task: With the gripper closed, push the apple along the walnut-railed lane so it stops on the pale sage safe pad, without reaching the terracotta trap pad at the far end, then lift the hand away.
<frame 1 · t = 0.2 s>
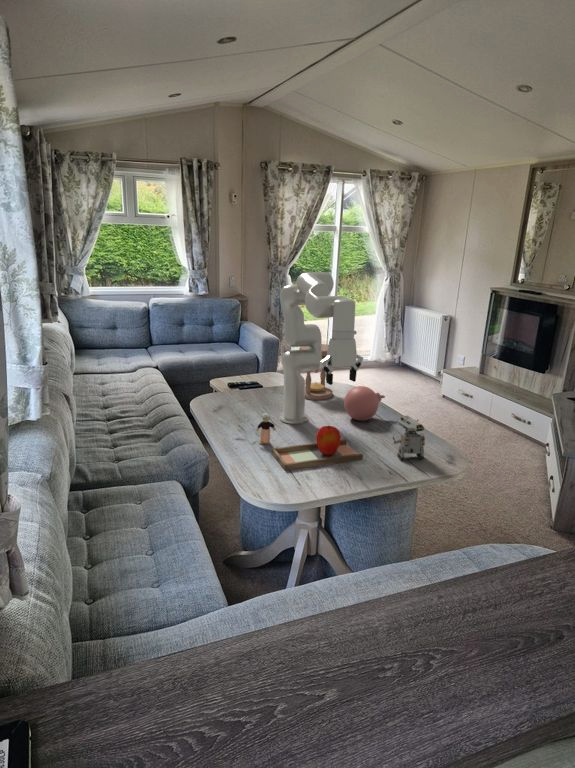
hand: (341, 382, 189), 30 cm above the table, tool pointing down, fingers open, 9 cm apart
hourglass: (315, 395, 273), on the table
figurine: (408, 456, 202), on the table
balloon: (364, 419, 240), on the table
grandmother figurine: (266, 443, 212), on the table
apple: (327, 455, 202), resting on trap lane
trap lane: (318, 456, 200), on the table
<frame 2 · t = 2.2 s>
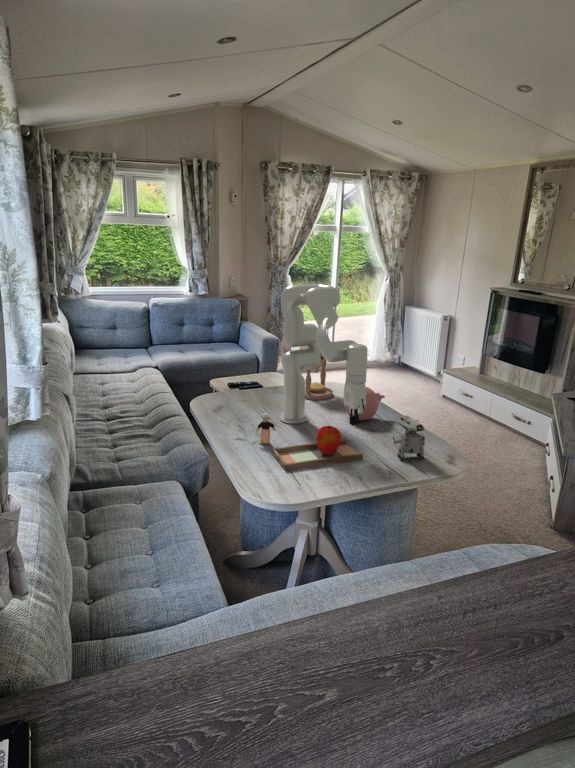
hand: (354, 424, 201), 12 cm above the table, tool pointing down, fingers closed
nothing on the table moved.
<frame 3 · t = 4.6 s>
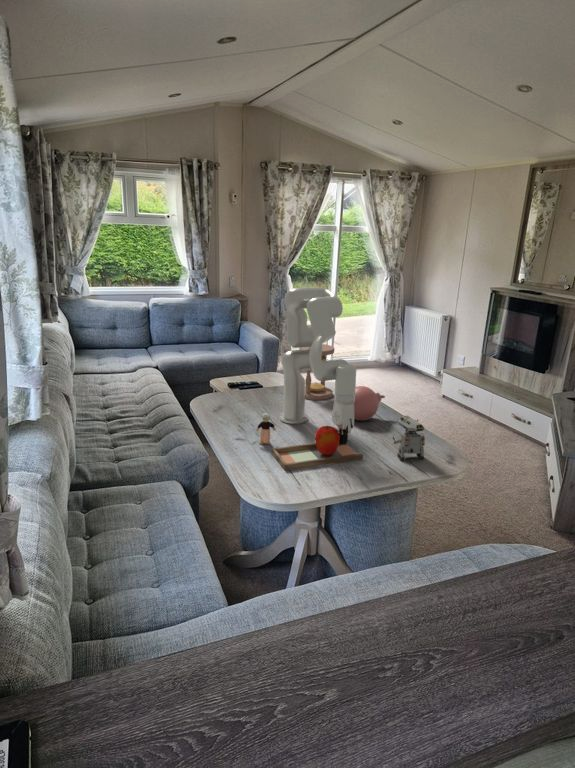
hand: (342, 443, 202), 4 cm above the table, tool pointing down, fingers closed
apple: (327, 455, 202), resting on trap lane, touching gripper
everything else where it was.
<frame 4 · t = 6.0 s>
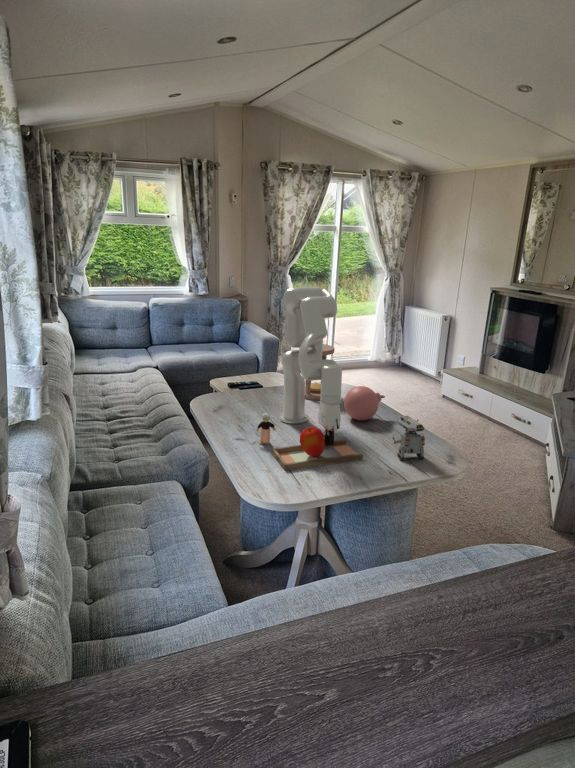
hand: (329, 444, 200), 5 cm above the table, tool pointing down, fingers closed
apple: (316, 455, 200), point 1 cm above the table, touching gripper
everything else where it was.
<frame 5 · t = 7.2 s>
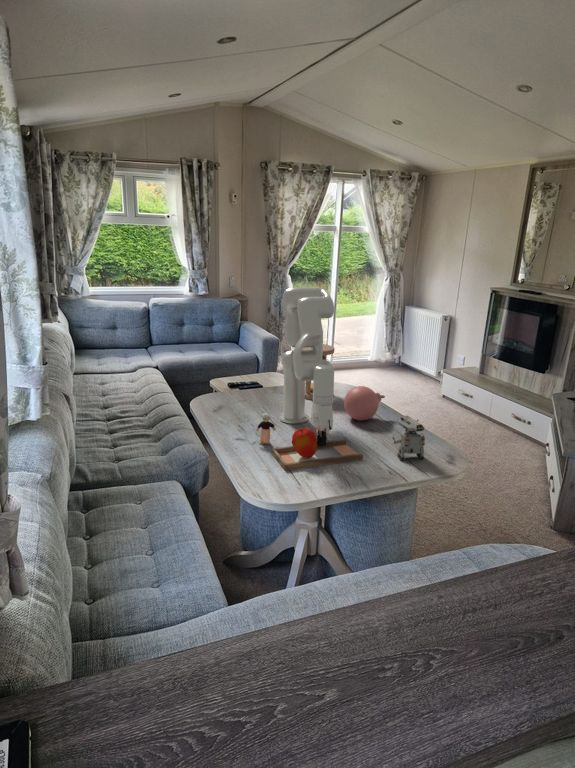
hand: (321, 445, 199), 5 cm above the table, tool pointing down, fingers closed
apple: (309, 456, 199), point 1 cm above the table, touching gripper, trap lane
everything else where it was.
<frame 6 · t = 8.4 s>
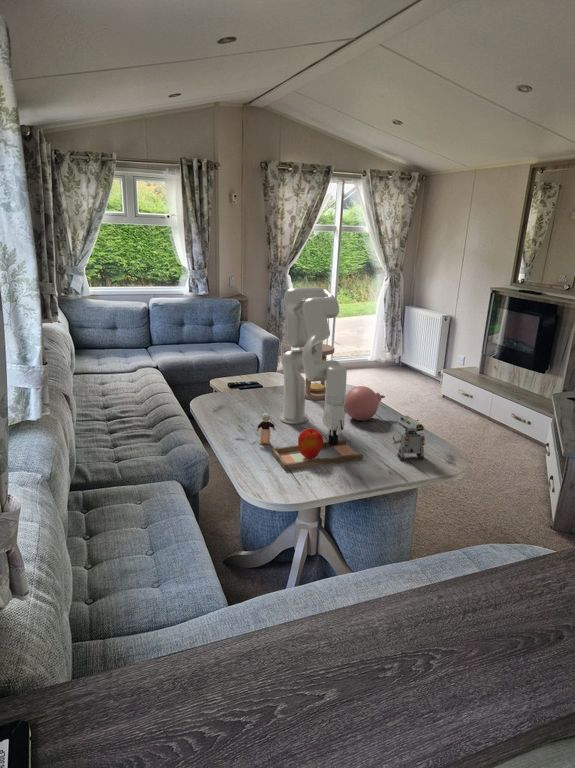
hand: (333, 444, 201), 4 cm above the table, tool pointing down, fingers closed
apple: (308, 457, 199), resting on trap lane
everything else where it was.
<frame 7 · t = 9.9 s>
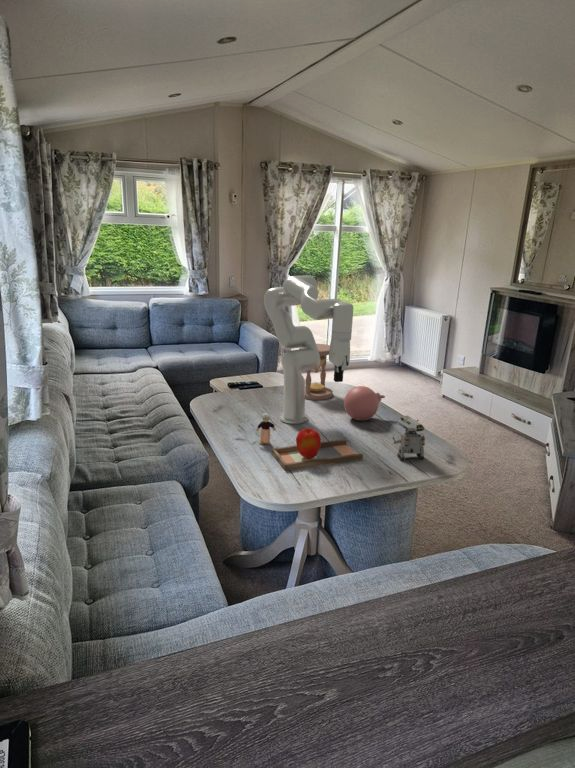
hand: (338, 381, 207), 26 cm above the table, tool pointing down, fingers closed
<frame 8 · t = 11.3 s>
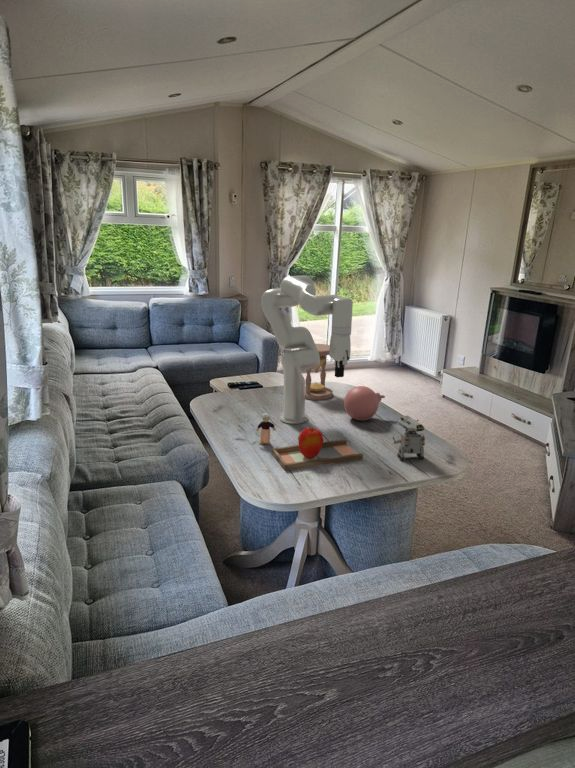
hand: (339, 376, 208), 27 cm above the table, tool pointing down, fingers closed
at the end: apple inside the target area (1.6 cm from its centre), resting in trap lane; the gripper is holding nothing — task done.
